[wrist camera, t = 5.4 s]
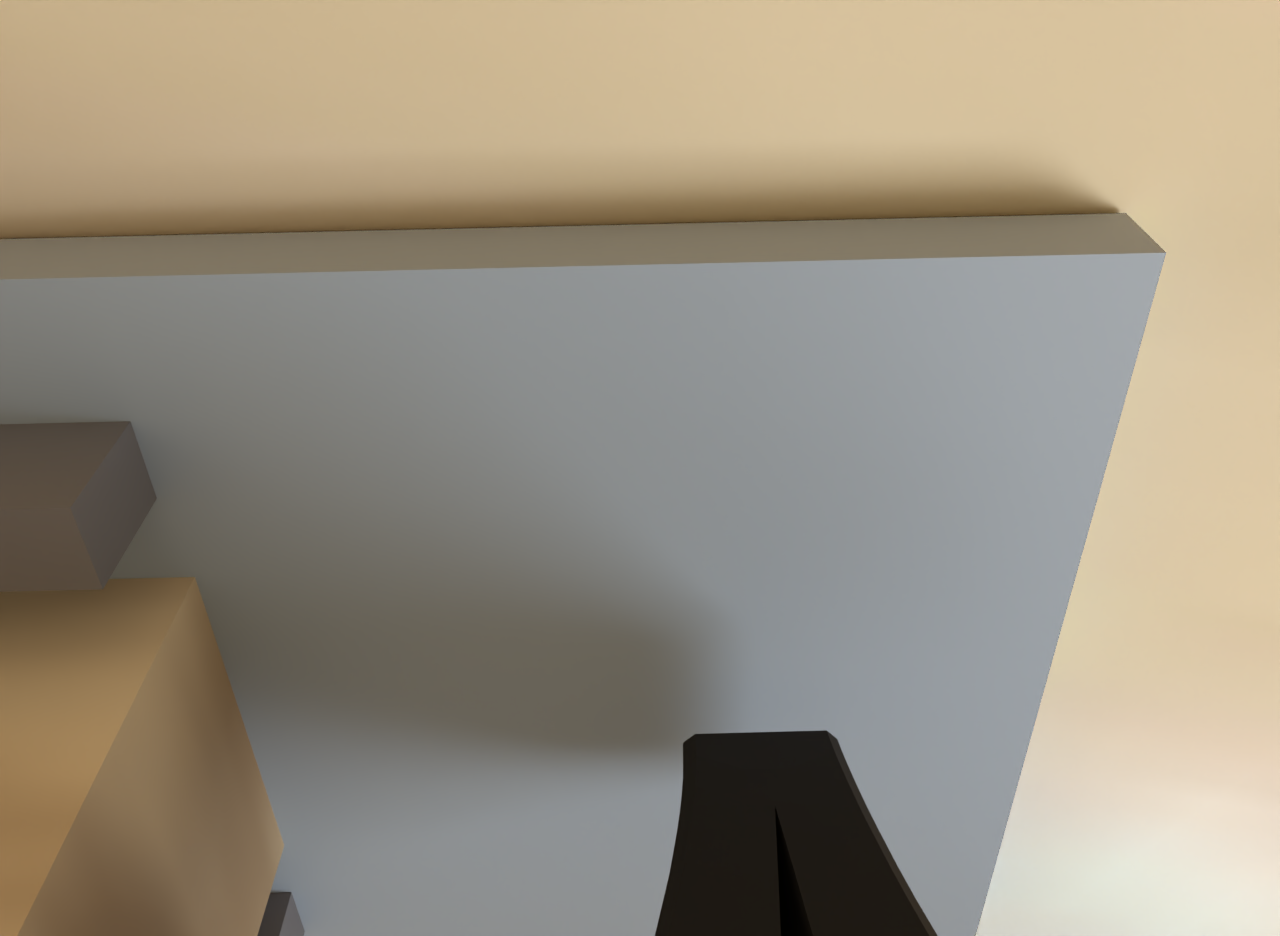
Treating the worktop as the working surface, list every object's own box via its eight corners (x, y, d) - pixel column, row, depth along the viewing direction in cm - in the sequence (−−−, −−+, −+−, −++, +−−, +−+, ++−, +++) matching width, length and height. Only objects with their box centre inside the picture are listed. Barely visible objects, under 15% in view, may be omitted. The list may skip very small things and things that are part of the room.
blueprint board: (949, 917, 15) (990, 1068, 13) (-157, 943, 15) (-256, 1098, 13) (1126, 213, 9) (1239, 325, 7) (-692, 254, 9) (-991, 377, 7)
